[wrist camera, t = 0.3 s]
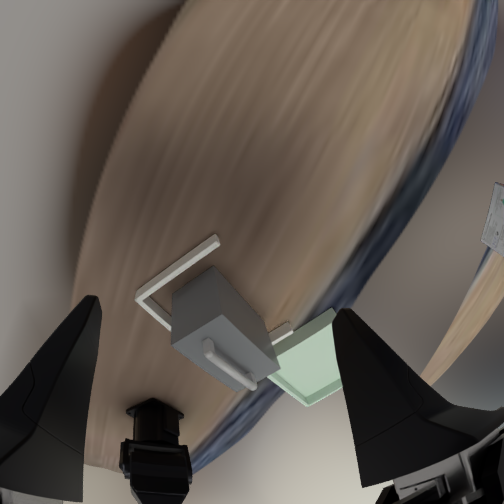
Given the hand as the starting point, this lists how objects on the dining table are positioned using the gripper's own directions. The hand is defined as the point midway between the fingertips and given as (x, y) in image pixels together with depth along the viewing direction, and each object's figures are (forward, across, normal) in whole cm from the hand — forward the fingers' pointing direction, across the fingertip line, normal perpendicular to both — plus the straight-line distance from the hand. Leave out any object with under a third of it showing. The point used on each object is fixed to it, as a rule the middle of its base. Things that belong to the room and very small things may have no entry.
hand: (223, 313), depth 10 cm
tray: (+11, -16, +24) cm, 31 cm away
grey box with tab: (+12, -2, +15) cm, 19 cm away
